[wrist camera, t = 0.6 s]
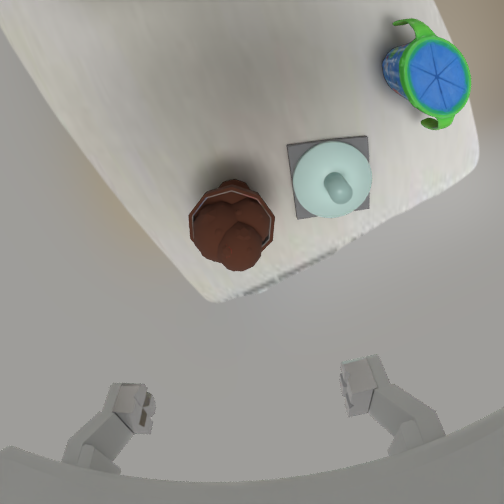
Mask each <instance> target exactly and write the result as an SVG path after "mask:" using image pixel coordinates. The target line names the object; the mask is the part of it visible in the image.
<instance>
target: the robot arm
mask: <svg viewBox="0 0 504 504" xmlns="http://www.w3.org/2000/svg"><path fill="white" fill-rule="evenodd" d="M340 368H341V372H342V373H341V374H340V387H341V392H342V395H343V396H344V397H345V407H346V410H347V414H348V417H350V416H356V415H361V414H365V413H368V414H369V415H370V416H371V417H372V418H373V419H375V420H376V421H377V422H378V423H379V424H380V425H381V426H382V427H384V428H385V429H386V430H387V431H388V432H389V433H390V434H392V435H393V436H394V439H393V441H392V443H391V445H390V447H389V449H388V454H389V456H388V457H385V458H382V459H378V460H374V461H371V462H367V463H363V464H359V465H355V466H351V467H346V468H342V469H338V470H332V471H327V472H321V473H316V474H310V475H304V476H296V477H289V478H280V479H271V480H259V481H242V482H185V481H169V480H157V479H147V478H139V477H131V476H124V475H120V473H121V469H120V468H119V467H118V466H117V465H116V464H115V463H113V460H114V459H115V458H116V457H117V455H118V454H119V453H120V452H121V450H122V449H123V448H124V447H125V445H126V444H127V443H128V442H129V440H130V439H131V438H132V437H133V435H134V434H151V430H152V424H153V421H152V419H151V417H152V416H153V415H154V414H155V409H156V405H155V400H154V397H153V396H152V394H150V393H149V392H147V387H146V386H145V384H134V383H113V384H112V385H111V386H110V389H109V392H108V395H107V397H106V400H105V404H104V407H103V410H102V412H98V413H97V414H96V415H95V416H94V417H93V418H92V419H91V420H90V421H88V423H86V424H85V425H84V426H83V427H82V428H81V429H80V430H79V431H78V432H76V433H75V434H74V435H73V436H72V437H71V438H70V439H69V440H68V442H67V445H66V448H65V452H64V455H63V458H62V461H61V462H59V461H56V460H53V459H49V458H46V457H43V456H39V455H36V454H34V453H31V452H28V451H25V450H22V449H20V448H17V447H14V446H7V447H6V448H4V449H3V450H1V451H0V504H504V407H502V408H501V409H499V410H497V411H496V412H494V413H492V414H490V415H488V416H486V417H484V418H483V419H480V420H478V421H476V422H474V423H472V424H471V425H468V426H466V427H464V428H462V429H460V430H458V431H455V432H453V433H451V434H449V435H445V432H444V430H443V427H442V425H441V423H440V420H439V418H438V416H437V413H436V411H435V410H433V409H432V408H430V407H429V406H427V405H426V404H424V403H423V402H421V401H419V400H418V399H416V398H415V397H413V396H412V395H410V394H409V393H407V392H406V391H404V390H403V389H401V388H400V387H398V386H396V385H395V384H390V382H389V379H388V377H387V374H386V372H385V369H384V367H383V365H382V362H381V360H380V358H379V356H378V355H377V354H375V355H371V356H367V357H361V358H357V359H353V360H349V361H344V362H341V367H340Z"/></svg>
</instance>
